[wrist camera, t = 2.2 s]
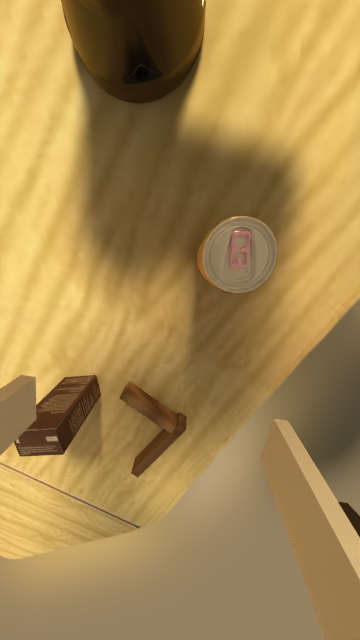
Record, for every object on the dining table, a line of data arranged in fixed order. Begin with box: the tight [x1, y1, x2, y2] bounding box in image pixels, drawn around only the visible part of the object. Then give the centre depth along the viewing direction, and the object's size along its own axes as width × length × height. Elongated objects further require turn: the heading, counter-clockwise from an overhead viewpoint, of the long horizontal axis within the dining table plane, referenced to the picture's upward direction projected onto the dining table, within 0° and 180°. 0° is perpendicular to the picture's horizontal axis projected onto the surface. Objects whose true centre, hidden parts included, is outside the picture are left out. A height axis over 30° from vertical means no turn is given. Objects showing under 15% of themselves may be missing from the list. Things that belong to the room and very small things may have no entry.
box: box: [14, 375, 101, 456], centre depth 31 cm, size 6×4×12 cm
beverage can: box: [196, 216, 278, 294], centre depth 23 cm, size 6×6×15 cm
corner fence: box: [120, 382, 186, 477], centre depth 37 cm, size 12×14×3 cm
